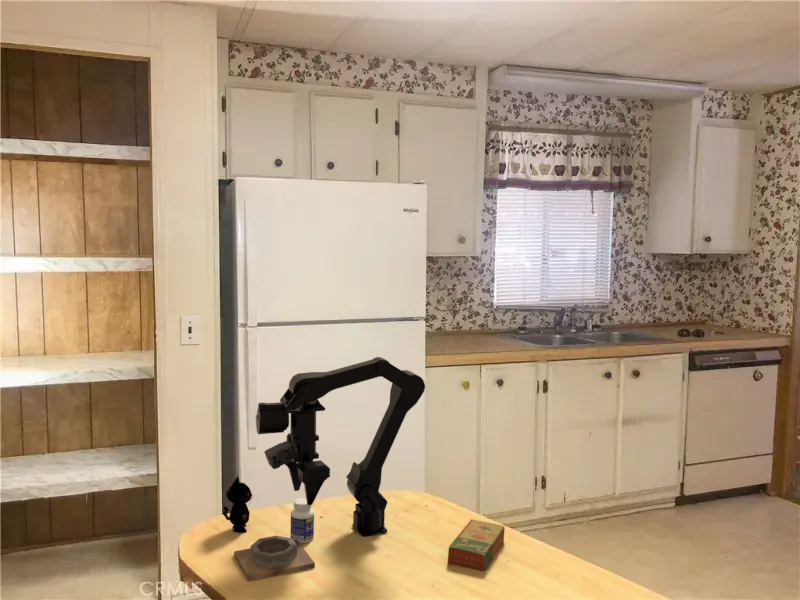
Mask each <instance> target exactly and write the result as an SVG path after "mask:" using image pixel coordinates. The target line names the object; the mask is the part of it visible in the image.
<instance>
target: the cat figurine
mask: <svg viewBox="0 0 800 600" xmlns="http://www.w3.org/2000/svg"><path fill="white" fill-rule="evenodd" d="M225 495H226V497H227V499H228V501H229V502H231V504H232V506H231V509H230V510H229V507H227V506H223V510H224V511H223V514H222V515H223V516H224V518H225V519H226V520H227V521H230V523H231V524H232V532H233V533H237V534H246V533H247V529H246V527H247V523H248V522H249V521H250V510H249V508H248V506H250V505H251V503H249V504H247V503H248V502H251V500H252V499H253V494H252V491H251V489H250V487H249V486H248V485H247V484H246V483H244V482H241V481H240V477H239V475H237V476H236V478H235V479H234V481H233V482H232V484H231V485H230V487H229V488H228V489H227V491H226V493H225ZM229 511H230V512H229ZM228 513H229V515H228Z"/></svg>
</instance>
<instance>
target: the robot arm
mask: <svg viewBox="0 0 800 600" xmlns="http://www.w3.org/2000/svg"><path fill="white" fill-rule="evenodd" d="M380 377H382V378H383V379H385V380H387V381H388V382H390V383H392V384H391V388H390V391H389V403H388V406H387V408H386V410H385V412H384V415H383V417H382V419H381V421H380V423H379V426H378V428H377V430H376V433H375V435H374V438H373V439H372V442H371V444H370V445H369V449H368V450H367V452H366V455H365V457H364V459H362V461H360V463H357V462H355V461H353V463H352V464H351V468H350V471H349V472H348V474H347V475H346V477H345V478H346V479H347V481H346V486H347V489H348V491H349V493H350V494H351V495H352V496H353V498H354V499H355V500H356V501H357V503H355V504H354V505H355V506H354V507H355V510H354V511H353V512H352V514H353V517H352V518H353V522H352V525H351V526H352V527H351V528H353V529H354V531H356V532H357V533H358V534H359V535H360V536H361V537H370V536H374V535H379V534H385V533H388V529H387V528H386V527H385V515H386V514H385V510H386V508H387V505H388V500H387V499H386V498H385V497H384V495H383V494H382V493H381V492H380V487H381V483H382V472H383V471H382V470H383V467H384V465H385V463H386V460H387V458H388V455H389V453H390V451H391V449H392V447H393V444H394V442H395V440H396V438H397V435H398V433H399V431H400V429H401V427H402V425H403V422H404V420H405V418H406V416H407V414H408V413H409V411H411V409H412V408H413V407H415V406H416V404H418V402H419V400H420V399H421V397H422V395H423V394H424V392H425V389H426V384H425V380H424V379H423V378H422V377H421V376H419V375H418V374H417V373H414V372H413V371H410V370H408V369H404V370H403V369H402V370H401V369H400V368H398V367H396V366H395V365H393V364H392V363H390V361H388V360H387V359H386V358H383V357H381V356H376V357H373V358H372V359H368V360H366V361H362V362H358V363H354V364H351V365H346V366H343V367H340V368H336V369H332V370H329V371H320V372H319V371H310V372H301V373H296V374H294V375H292V377H291V379H290V380H289V381H288V382H289V383H288V388H287V389H286V391H285V392H284V394H283V395H282V396H281V398H280V399H279V402H278V401H277V402H258V404H257V410H256V415H255V425H256V427H255V429H256V434H257V435H271V434H280V433H281V434H282V433H284V432H285V431H287V429H288V428H289V426H290V432H288V433H287V435H286V440H285V441H283V442H280V443H277V444H275V445H273V446H272V447H269V448H267V449H266V450H265V451H264V455H265V458H266V461H267V462H268V466H270V467H271V469H273V470H277V469H279V468H281V466H283V465H285V466H286V468H287V469H288V471H289V475H290V480H291V483H292V487H293V491H295V492H299V491H300V489H301V486H302V484H304V485H303V486H304V493H305V494H304V495H305V498H306V500H307V505H314V503H315V501H316V498H317V496H318V494H319V493H320V490H321V488H322V486H323V485H324V483H325V481H326V480H328V479H329V478H330V477H331V469H330V467H329V466H328V465H327V464H326V463H325V462H324V461H322V460H318V459H320V454H319V453H318V452H317V442H318V441H320V436H319V435H318V433H317V412H325V411H326V407H325V406H324V405H323V404H321V402H320V401H319V399H322V398H323V397H325V396H326V395H328V394H329V393H331V392H332V391H335V390H338V389H341V388H344V387H345V388H346V387H348V386H352V385H355V384H359V383H363V382H365V381H369V380H372V379H377V378H380Z"/></svg>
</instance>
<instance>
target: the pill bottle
mask: <svg viewBox="0 0 800 600" xmlns="http://www.w3.org/2000/svg"><path fill="white" fill-rule="evenodd" d="M312 505H313V504H312ZM312 505H307V500H306V497H300V498H296V499H295V500H293V509H292V510H291V511H290V537H289V538H292V539H293V540H297V541H298V542H299V543H300V544H307V543H310V542H312V541H313V540H314V538H315V537H314V535H315V533H314V532H315V527H314V526H315V512H314V510H313V509H312Z"/></svg>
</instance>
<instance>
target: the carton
mask: <svg viewBox="0 0 800 600" xmlns="http://www.w3.org/2000/svg"><path fill="white" fill-rule="evenodd" d="M503 541H504V542H505V525H501V524H497V523H493V522H489V521H488V522H487V521H482V520H477V519H470V520H469V522H468V523H467V524H466V525H465V527H464V528H463V529H462V530H461V531H460V533H459V534H458V535H457V536H456V538H455V539H454V540H453V541H452V542H451V543H450V545H449V546H448V551H447V553H448V554H447V564H448V565H453V566H457V567H461V568H465V569H470V570H475V571H480V572H486V570H487V568H488V567H487V566H489V565H490V563H491V562H492V560H493V559H494V557H495V556H496V555H497V553H496V552H498V551H499V550H498V549H500V548H501V547H502V545H503V543H504V542H503ZM501 544H502V545H501ZM500 546H501V547H500ZM499 547H500V548H499ZM494 555H495V556H494ZM492 558H493V559H492ZM490 561H491V562H490ZM488 564H489V565H488Z"/></svg>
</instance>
